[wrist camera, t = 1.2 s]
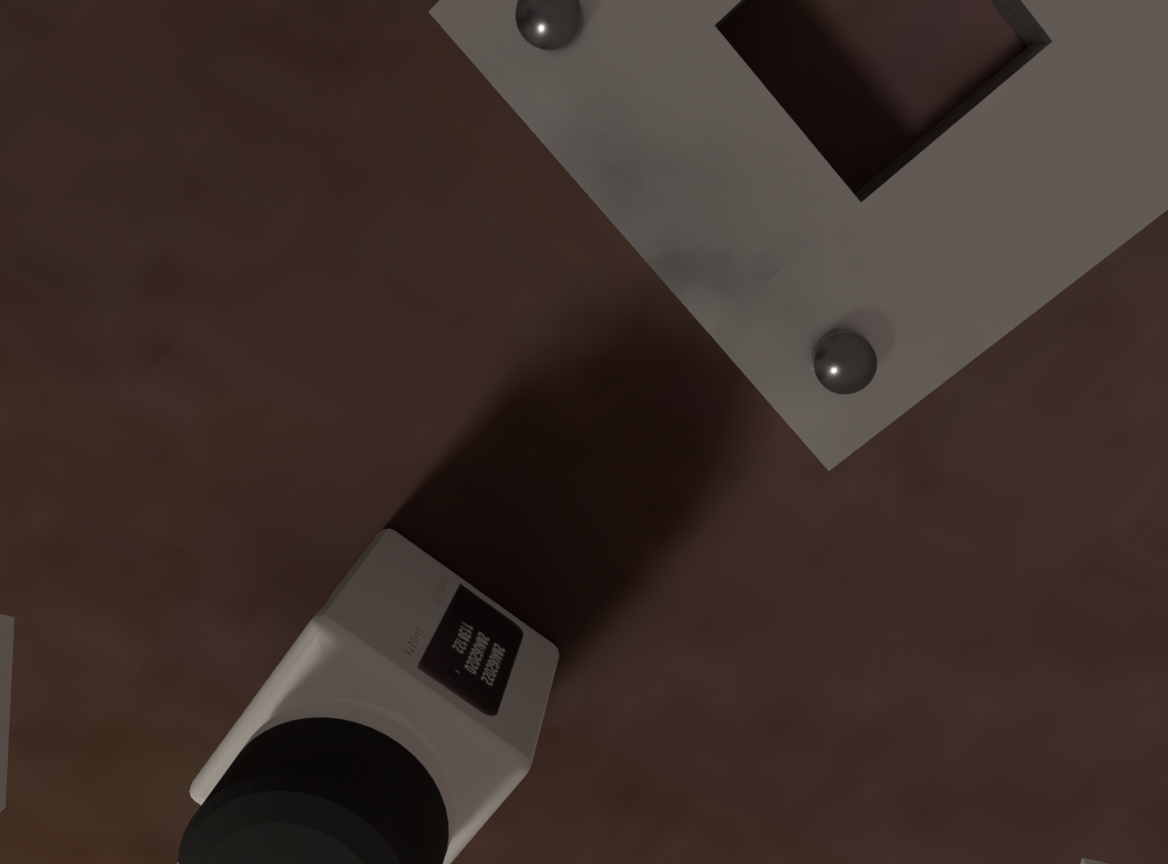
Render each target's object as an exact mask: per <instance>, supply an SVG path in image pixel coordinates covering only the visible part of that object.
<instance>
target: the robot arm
mask: <svg viewBox="0 0 1168 864" xmlns="http://www.w3.org/2000/svg"><path fill="white" fill-rule="evenodd" d="M13 633H14V617H10V616H6V615H1V614H0V812H1V811H2V810H3V809H4V808H5V802H6V781H7V760H8V739H9V717H10V696H11V675H12V654H13ZM1080 864H1107V863H1103V862H1099V861H1094V860H1090V859H1085V858H1082V860H1081V863H1080Z"/></svg>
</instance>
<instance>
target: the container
mask: <svg viewBox="0 0 1168 864" xmlns="http://www.w3.org/2000/svg"><path fill="white" fill-rule="evenodd" d="M558 659H559V651H558V648H557V647H556V646H555V645H554V644H553V643H551V642H550V641H549V640H547V639H546V638H544V637H543V636H542V635H540V634H539V633H537V632H536V631H535V630H533V629H532V628H530V627H529V626H528V625H526V624H525V623H523V622H522V621H521V620H519V619H518V618H516V617H515V616H514V615H512V614H511V613H509V612H508V611H507V610H505V609H504V608H502V607H501V606H500V605H498V604H497V603H495V602H494V601H493V600H491V599H490V598H488V597H487V596H486V595H484V594H483V593H481V592H480V591H479V590H477V589H476V588H474V587H473V586H472V585H470V584H469V583H467V582H466V581H465V580H463V579H462V578H460V577H459V576H458V575H456V574H455V573H453V572H452V571H451V570H449V569H448V568H446V567H445V566H444V565H442V564H441V563H440V562H438V561H437V560H435V559H434V558H433V557H431V556H430V555H428V554H427V553H426V552H424V551H423V550H421V549H420V548H419V547H417V546H416V545H414V544H413V543H412V542H410V541H409V540H407V539H406V538H405V537H403V536H402V535H400V534H399V533H398V532H396V531H395V530H392V529H384V530H382V531H381V532H379V533H378V534H377V536H376V537H375V538H374V539H373V541H372V542H371V543H370V545H369V546H368V547H367V548H366V550H365V551H364V552H363V554H362V555H361V556H360V558H359V559H358V560H357V561H356V563H355V564H354V565H353V567H352V568H351V569H350V570H349V572H348V573H347V574H346V576H345V577H344V578H343V579H342V581H341V582H340V583H339V585H338V586H337V587H336V588H335V590H334V591H333V592H332V594H331V595H330V596H329V597H328V599H327V600H326V601H325V603H324V604H323V605H322V606H321V608H320V609H319V610H318V612H317V613H316V614H315V616H314V617H313V618H312V619H311V621H310V622H309V623H308V625H307V626H306V628H305V629H304V630H303V632H302V633H301V634H300V636H299V637H298V638H297V640H296V641H295V643H294V644H293V645H292V647H291V648H290V649H289V651H288V652H287V654H286V655H285V656H284V658H283V659H282V660H281V662H280V663H279V664H278V666H277V667H276V669H275V670H274V671H273V673H272V674H271V675H270V677H269V678H268V680H267V681H266V682H265V684H264V685H263V686H262V688H261V689H260V690H259V692H258V693H257V695H256V696H255V697H254V699H253V700H252V701H251V703H250V704H249V705H248V707H247V708H246V710H245V711H244V712H243V714H242V715H241V716H240V718H239V719H238V721H237V722H236V723H235V725H234V726H233V727H232V729H231V730H230V731H229V733H228V734H227V736H226V737H225V738H224V740H223V741H222V742H221V744H220V745H219V747H218V748H217V749H216V751H215V752H214V753H213V755H212V756H211V757H210V759H209V760H208V762H207V763H206V764H205V766H204V767H203V768H202V770H201V771H200V772H199V774H198V775H197V777H196V778H195V779H194V781H193V782H192V785H191V789H190V795H191V797H192V798H193V799H194V800H195V801H196V802H197V803H199V804H200V805H201V806H200V808H199V809H198V811H197V812H196V813H195V815H194V816H193V817H192V819H191V820H190V822H189V824H188V826H187V828H186V830H185V832H184V835H183V838H182V841H181V845H180V849H179V857H178V864H450V863H451V862H452V861H453V860H454V859H455V858H456V856H457V855H458V854H459V853H460V852H461V851H462V849H463V848H464V847H465V846H466V845H467V843H468V842H469V841H470V840H471V839H472V838H473V836H474V835H475V834H476V833H477V832H478V831H479V829H480V828H481V827H482V826H483V825H484V824H485V822H486V821H487V820H488V819H489V818H490V817H491V815H492V814H493V813H494V812H495V811H496V810H497V808H498V807H499V806H500V805H501V804H502V803H503V801H504V800H505V799H506V798H507V797H508V795H509V794H510V793H511V792H512V791H513V790H514V788H515V787H516V786H517V785H518V784H519V783H520V781H521V780H522V779H523V778H524V777H525V776H526V774H527V773H528V772H529V770H530V767H531V764H532V760H533V756H534V752H535V748H536V744H537V741H538V737H539V733H540V729H541V725H542V721H543V717H544V714H545V710H546V706H547V702H548V698H549V694H550V690H551V687H552V683H553V679H554V675H555V671H556V667H557V663H558Z"/></svg>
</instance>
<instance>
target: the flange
mask: <svg viewBox="0 0 1168 864" xmlns="http://www.w3.org/2000/svg"><path fill="white" fill-rule="evenodd" d="M746 1H747V0H440V1H439V2H438V3H437V4H436V5H435V6H434V7H433V8H432V9H431V10H430V11H429V13H430V14H431V15H432V16H433V18H434V19H435V20H436V21H437V22H438V23H439V24H440V26H441V27H442V28H443V29H444V30H445V31H446V32H447V34H448V35H449V36H450V37H451V38H452V39H453V41H454V42H455V43H456V44H457V45H458V46H459V47H460V49H461V50H462V51H463V52H464V53H465V54H466V55H467V57H468V58H469V59H470V60H471V61H472V62H473V63H474V65H475V66H476V67H477V68H478V69H479V70H480V71H481V73H482V74H483V75H484V76H485V77H486V78H487V80H488V81H489V82H490V83H491V84H492V85H493V86H494V88H495V89H496V90H497V91H498V92H499V93H500V94H501V96H502V97H503V98H504V99H505V100H506V101H507V102H508V104H509V105H510V106H511V107H512V108H513V109H514V110H515V112H516V113H517V114H518V115H519V116H520V117H521V119H522V120H523V121H524V122H525V123H526V124H527V125H528V127H529V128H530V129H531V130H532V131H533V132H534V133H535V135H536V136H537V137H538V138H539V139H540V140H541V141H542V143H543V144H544V145H545V146H546V147H547V148H548V149H549V151H550V152H551V153H552V154H553V155H554V156H555V158H556V159H557V160H558V161H559V162H560V163H561V164H562V166H563V167H564V168H565V169H566V170H567V171H568V172H569V174H570V175H571V176H572V177H573V178H574V179H575V180H576V182H577V183H578V184H579V185H580V186H581V187H582V188H583V190H584V191H585V192H586V193H587V194H588V195H589V197H590V198H591V199H592V200H593V201H594V202H595V203H596V205H597V206H598V207H599V208H600V209H601V210H602V211H603V213H604V214H605V215H606V216H607V217H608V218H609V219H610V221H611V222H612V223H613V224H614V225H615V226H616V228H617V229H618V230H619V231H620V232H621V233H622V234H623V236H624V237H625V238H626V239H627V240H628V241H629V242H630V244H631V245H632V246H633V247H634V248H635V249H636V250H637V252H638V253H639V254H640V255H641V256H642V257H643V258H644V260H645V261H646V262H647V263H648V264H649V265H650V267H651V268H652V269H653V270H654V271H655V272H656V273H657V275H658V276H659V277H660V278H661V279H662V280H663V281H664V283H665V284H666V285H667V286H668V287H669V288H670V289H671V291H672V292H673V293H674V294H675V295H676V296H677V297H678V299H679V300H680V301H681V302H682V303H683V304H684V306H685V307H686V308H687V309H688V310H689V311H690V312H691V314H692V315H693V316H694V317H695V318H696V319H697V320H698V322H699V323H700V324H701V325H702V326H703V327H704V328H705V330H706V331H707V332H708V333H709V334H710V335H711V336H712V338H713V339H714V340H715V341H716V342H717V343H718V345H719V346H720V347H721V348H722V349H723V350H724V351H725V353H726V354H727V355H728V356H729V357H730V358H731V359H732V361H733V362H734V363H735V364H736V365H737V366H738V367H739V369H740V370H741V371H742V372H743V373H744V374H745V375H746V377H747V378H748V379H749V380H750V381H751V382H752V384H753V385H754V386H755V387H756V388H757V389H758V390H759V392H760V393H761V394H762V395H763V396H764V397H765V398H766V400H767V401H768V402H769V403H770V404H771V405H772V406H773V408H774V409H775V410H776V411H777V412H778V413H779V414H780V416H781V417H782V418H783V419H784V420H785V421H786V423H787V424H788V425H789V426H790V427H791V428H792V429H793V431H794V432H795V433H796V434H797V435H798V436H799V437H800V439H801V440H802V441H803V442H804V443H805V444H806V445H807V447H808V448H809V449H810V450H811V451H812V452H813V454H814V455H815V456H816V457H817V458H818V459H819V460H820V462H821V463H822V464H823V465H824V466H825V467H826V468H827V470H828V471H830V470H831V469H832V468H833V467H835V466H836V465H837V464H839V463H840V462H841V461H843V460H844V459H845V458H846V457H848V456H849V455H850V454H852V453H853V452H854V451H855V450H857V449H858V448H859V447H861V446H862V445H863V444H865V443H866V442H867V441H868V440H870V439H871V438H872V437H874V436H875V435H876V434H878V433H879V432H880V431H881V430H883V429H884V428H885V427H887V426H888V425H889V424H890V423H892V422H893V421H894V420H896V419H897V418H898V417H900V416H901V415H902V414H903V413H905V412H906V411H907V410H909V409H910V408H911V407H912V406H914V405H915V404H916V403H918V402H919V401H920V400H922V399H923V398H924V397H925V396H927V395H928V394H929V393H931V392H932V391H933V390H935V389H936V388H937V387H938V386H940V385H941V384H942V383H944V382H945V381H946V380H947V379H949V378H950V377H951V376H953V375H954V374H955V373H957V372H958V371H959V370H960V369H962V368H963V367H964V366H966V365H967V364H968V363H969V362H971V361H972V360H973V359H975V358H976V357H977V356H979V355H980V354H981V353H982V352H984V351H985V350H986V349H988V348H989V347H990V346H991V345H993V344H994V343H995V342H997V341H998V340H999V339H1001V338H1002V337H1003V336H1004V335H1006V334H1007V333H1008V332H1010V331H1011V330H1012V329H1014V328H1015V327H1016V326H1017V325H1019V324H1020V323H1021V322H1023V321H1024V320H1025V319H1026V318H1028V317H1029V316H1030V315H1032V314H1033V313H1034V312H1036V311H1037V310H1038V309H1039V308H1041V307H1042V306H1043V305H1045V304H1046V303H1047V302H1048V301H1050V300H1051V299H1052V298H1054V297H1055V296H1056V295H1058V294H1059V293H1060V292H1061V291H1063V290H1064V289H1065V288H1067V287H1068V286H1069V285H1070V284H1072V283H1073V282H1074V281H1076V280H1077V279H1078V278H1080V277H1081V276H1082V275H1083V274H1085V273H1086V272H1087V271H1089V270H1090V269H1091V268H1093V267H1094V266H1095V265H1096V264H1098V263H1099V262H1100V261H1102V260H1103V259H1104V258H1105V257H1107V256H1108V255H1109V254H1111V253H1112V252H1113V251H1115V250H1116V249H1117V248H1118V247H1120V246H1121V245H1122V244H1124V243H1125V242H1126V241H1127V240H1129V239H1130V238H1131V237H1133V236H1134V235H1135V234H1137V233H1138V232H1139V231H1140V230H1142V229H1143V228H1144V227H1146V226H1147V225H1148V224H1150V223H1151V222H1152V221H1153V220H1155V219H1156V218H1157V217H1159V216H1160V215H1161V214H1162V213H1164V212H1165V211H1166V210H1168V0H991V1H992V2H993V4H994V5H995V6H996V8H997V9H998V10H999V11H1000V13H1001V14H1002V15H1003V17H1004V18H1005V19H1006V20H1007V22H1008V23H1009V24H1010V25H1011V27H1012V28H1013V29H1014V31H1015V32H1016V33H1017V34H1018V36H1019V37H1020V38H1021V40H1022V41H1023V42H1024V43H1025V45H1026V46H1027V48H1026V49H1024V50H1023V51H1022V52H1021V53H1020V54H1018V55H1017V56H1016V57H1015V58H1014V59H1013V60H1011V61H1010V62H1009V63H1008V64H1007V65H1005V66H1004V67H1003V68H1002V69H1001V70H1000V71H998V72H997V73H996V74H995V75H994V76H992V77H991V78H990V79H989V80H988V81H987V82H985V83H984V84H983V85H982V86H981V87H979V88H978V89H977V90H976V91H975V92H974V93H972V94H971V95H970V96H969V97H968V98H966V99H965V100H964V101H963V102H962V103H961V104H959V105H958V106H957V107H956V108H955V109H953V110H952V111H951V112H950V113H949V114H948V115H946V116H945V117H944V118H943V119H942V120H940V121H939V122H938V123H937V124H936V125H935V126H933V127H932V128H931V129H930V130H929V131H928V132H926V133H925V134H924V135H923V136H922V137H920V138H919V139H918V140H917V141H916V142H915V143H913V144H912V145H911V146H910V147H909V148H907V149H906V150H905V151H904V152H903V153H902V154H900V155H899V156H898V157H897V158H896V159H894V160H893V161H892V162H891V163H890V164H889V165H887V166H886V167H885V168H884V169H883V170H881V171H880V172H879V173H878V174H877V175H876V176H874V177H873V178H872V179H871V180H870V181H868V182H867V183H866V184H865V185H864V186H863V187H861V188H860V189H859V190H858V191H857V192H855V193H853V192H852V191H851V190H850V189H849V187H848V186H847V185H846V184H845V183H844V181H843V180H842V179H841V178H840V177H839V175H838V174H837V173H836V172H835V171H834V169H833V168H832V167H831V166H830V164H829V163H828V162H827V161H826V160H825V158H824V157H823V156H822V155H821V154H820V152H819V151H818V150H817V149H816V148H815V146H814V145H813V144H812V143H811V142H810V140H809V139H808V138H807V137H806V135H805V134H804V133H803V132H802V131H801V129H800V128H799V127H798V126H797V125H796V123H795V122H794V121H793V120H792V119H791V117H790V116H789V115H788V114H787V113H786V111H785V110H784V109H783V108H782V106H781V105H780V104H779V103H778V102H777V100H776V99H775V98H774V97H773V96H772V94H771V93H770V92H769V91H768V90H767V88H766V87H765V86H764V85H763V83H762V82H761V81H760V80H759V79H758V77H757V76H756V75H755V74H754V73H753V71H752V70H751V69H750V68H749V67H748V65H747V64H746V63H745V62H744V61H743V59H742V58H741V57H740V56H739V54H738V53H737V52H736V51H735V50H734V48H733V47H732V46H731V45H730V44H729V42H728V41H727V40H726V39H725V38H724V36H723V35H722V34H721V33H720V32H719V30H718V29H717V28H718V27H719V26H720V25H721V24H722V23H723V22H724V21H726V20H727V19H728V18H729V17H730V16H731V15H732V14H733V13H734V12H735V11H736V10H737V9H738V8H740V7H741V6H742V5H743V4H744V3H745V2H746Z"/></svg>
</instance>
